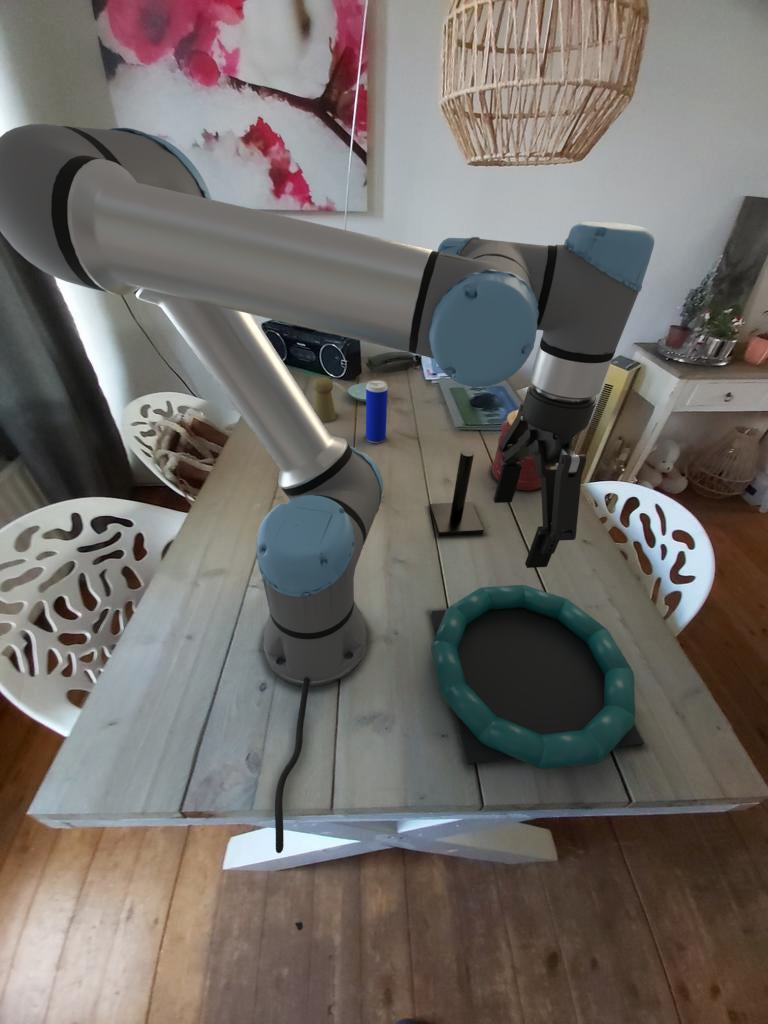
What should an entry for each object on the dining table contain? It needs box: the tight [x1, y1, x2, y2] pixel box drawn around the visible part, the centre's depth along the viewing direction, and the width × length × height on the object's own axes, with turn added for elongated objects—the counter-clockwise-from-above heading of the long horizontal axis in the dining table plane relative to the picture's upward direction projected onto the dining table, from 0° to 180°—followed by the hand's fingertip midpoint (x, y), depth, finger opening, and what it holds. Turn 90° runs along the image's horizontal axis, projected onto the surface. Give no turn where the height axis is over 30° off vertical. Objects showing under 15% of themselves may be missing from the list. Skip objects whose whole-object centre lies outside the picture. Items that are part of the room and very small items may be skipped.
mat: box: [431, 607, 645, 765], centre depth 64 cm, size 23×23×1 cm
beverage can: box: [365, 379, 389, 444], centre depth 110 cm, size 5×5×15 cm
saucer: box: [347, 382, 368, 403], centre depth 133 cm, size 12×12×2 cm
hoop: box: [431, 584, 636, 770], centre depth 62 cm, size 27×27×4 cm
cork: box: [312, 376, 337, 423], centre depth 120 cm, size 6×6×11 cm
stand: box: [429, 449, 485, 538], centre depth 85 cm, size 9×9×16 cm
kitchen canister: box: [491, 408, 552, 491], centre depth 98 cm, size 13×13×18 cm
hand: (517, 530), depth 62 cm, fingers open, 13 cm apart
